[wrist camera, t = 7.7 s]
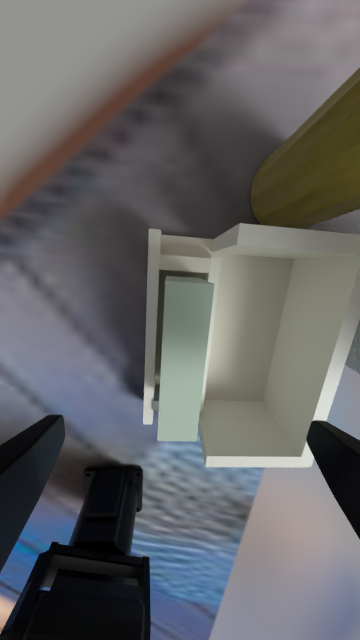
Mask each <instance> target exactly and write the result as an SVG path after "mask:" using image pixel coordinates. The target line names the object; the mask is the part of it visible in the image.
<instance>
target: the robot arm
mask: <svg viewBox="0 0 360 640" xmlns="http://www.w3.org/2000/svg"><path fill="white" fill-rule="evenodd" d="M64 439H65V426H64V418H63V416H62V415H53V414H51V415H48V416H46V417H45V418H43V419H41V420H40V421H38V422H37V423H35V424H33V425H32V426H30V427H29V428H27V429H25V430H24V431H22V432H21V433H19V434H17V435H16V436H14V437H13V438H11V439H9V440H8V441H6V442H5V443H3V444H1V445H0V572H1V570H2V568H3V566H4V564H5V563H6V561H7V559H8V557H9V555H10V553H11V551H12V549H13V547H14V545H15V544H16V542H17V540H18V538H19V536H20V534H21V532H22V530H23V528H24V526H25V525H26V523H27V521H28V519H29V517H30V515H31V513H32V511H33V509H34V507H35V506H36V504H37V502H38V500H39V498H40V496H41V493H42V491H43V489H44V487H45V484H46V482H47V480H48V477H49V475H50V473H51V470H52V468H53V466H54V463H55V461H56V459H57V456H58V454H59V452H60V449H61V447H62V444H63V442H64ZM306 441H307V444H308V447H309V449H310V451H311V452H312V454H313V456H314V458H315V460H316V462H317V464H318V466H319V468H320V470H321V472H322V474H323V476H324V478H325V480H326V482H327V484H328V486H329V488H330V490H331V492H332V493H333V495H334V497H335V499H336V500H337V502H338V504H339V506H340V507H341V509H342V511H343V512H344V514H345V515H346V517H347V519H348V520H349V522H350V524H351V525H352V527H353V529H354V531H355V532H356V534H357V535H358V537H359V539H360V440H358V439H356V438H354V437H352V436H351V435H349V434H347V433H345V432H344V431H342V430H340V429H338V428H337V427H335V426H333V425H331V424H330V423H328V422H326V421H323V420H314V421H312V422H311V424H310V427H309V430H308V433H307V437H306ZM83 478H84V491H85V500H84V503H83V506H82V508H81V511H80V514H79V517H78V520H77V522H76V525H75V528H74V531H73V533H72V536H71V539H70V542H69V544H68V545H61V544H58V543H59V542H53V541H52V544H51V546H50V548H49V550H47V551H46V552H44V553H41V554H39V556H38V559H37V561H36V563H35V565H34V567H33V570H32V572H31V574H30V576H29V578H28V581H27V583H26V585H25V587H24V589H23V591H22V593H21V595H20V597H19V599H18V601H17V603H16V605H15V607H14V608H13V610H12V612H11V614H10V616H9V618H8V620H7V622H6V624H5V626H4V628H3V630H2V632H1V634H0V640H150V566H149V557H146V556H143V557H137V556H130V553H131V545H132V538H133V530H134V523H135V515H136V512H140V511H141V509H142V488H143V470H142V469H141V468H87V469H85V471H84V474H83ZM43 587H51V589H50V591H45V590H42V589H43Z"/></svg>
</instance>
